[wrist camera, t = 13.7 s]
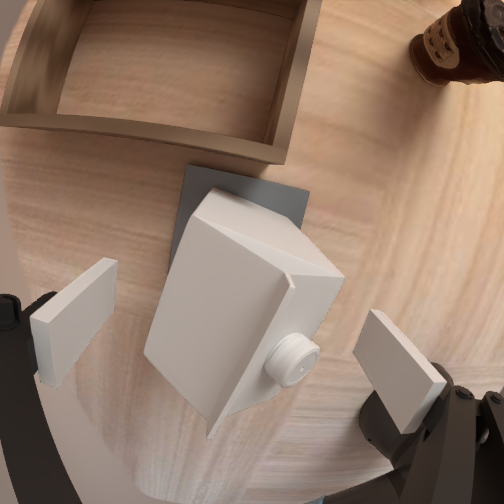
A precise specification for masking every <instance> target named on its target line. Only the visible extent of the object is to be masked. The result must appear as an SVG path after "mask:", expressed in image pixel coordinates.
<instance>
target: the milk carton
mask: <svg viewBox="0 0 504 504" xmlns="http://www.w3.org/2000/svg"><path fill="white" fill-rule="evenodd" d="M344 280H345V277H344V276H343V275H342V273H341V272H340V271H339V270H338V269H337V268H336V267H335V266H334V265H333V264H332V263H331V262H330V261H329V259H328V258H327V257H326V256H325V255H324V254H323V253H322V252H321V251H320V250H319V249H318V248H317V247H316V246H315V245H314V244H313V243H312V242H311V241H310V240H309V239H308V238H307V237H306V236H305V235H304V234H303V233H302V232H301V231H300V230H299V229H298V228H297V227H296V226H295V225H294V224H293V223H292V222H291V221H290V220H289V219H288V218H287V217H285V216H283V215H281V214H278V213H276V212H274V211H271V210H269V209H267V208H264V207H262V206H260V205H257V204H255V203H253V202H250V201H248V200H246V199H243V198H241V197H238V196H236V195H234V194H231V193H229V192H226V191H224V190H221V189H219V188H217V187H213V188H212V189H211V190H210V192H209V193H208V194H207V195H206V197H205V198H204V199H203V201H202V202H201V203H200V205H199V206H198V207H197V209H196V210H195V211H194V213H193V214H192V215H191V217H190V219H189V221H188V223H187V225H186V228H185V230H184V233H183V236H182V238H181V241H180V244H179V246H178V249H177V252H176V254H175V257H174V260H173V263H172V265H171V268H170V271H169V274H168V277H167V280H166V282H165V285H164V288H163V291H162V294H161V297H160V300H159V303H158V306H157V309H156V312H155V315H154V318H153V321H152V324H151V328H150V331H149V334H148V337H147V341H146V344H145V348H144V355H145V357H146V358H147V359H148V360H149V361H150V362H151V363H152V365H153V366H154V367H155V368H156V369H157V370H158V371H159V372H160V373H161V374H162V376H163V377H164V378H165V379H166V380H167V381H168V382H169V383H170V384H171V385H172V386H173V387H174V388H175V389H176V390H177V391H178V392H179V394H180V395H181V396H182V397H183V398H184V399H185V400H186V401H187V402H188V403H189V404H190V405H191V406H192V407H193V408H194V409H195V410H197V411H198V412H199V413H200V414H201V415H202V416H203V417H204V418H205V419H206V420H207V430H206V439H208V440H211V439H212V438H213V437H214V435H215V433H216V432H217V430H218V429H219V427H220V425H221V424H222V422H223V420H224V419H225V417H226V416H229V415H231V414H234V413H237V412H239V411H242V410H244V409H247V408H249V407H252V406H254V405H257V404H259V403H261V402H264V401H266V400H269V399H271V398H273V397H275V396H276V395H277V393H278V392H279V391H280V389H281V388H282V387H283V388H288V387H291V386H293V385H294V384H296V383H298V382H299V381H300V380H302V379H303V378H304V377H305V376H306V375H307V374H308V373H309V371H310V370H311V369H312V367H313V366H314V365H315V363H316V361H317V359H318V357H319V355H320V348H319V347H318V346H317V345H316V344H315V343H313V342H312V341H311V340H312V338H313V336H314V334H315V333H316V331H317V329H318V328H319V326H320V324H321V322H322V321H323V319H324V317H325V315H326V314H327V312H328V310H329V309H330V307H331V305H332V303H333V301H334V299H335V297H336V295H337V294H338V292H339V290H340V288H341V286H342V284H343V282H344Z"/></svg>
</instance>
